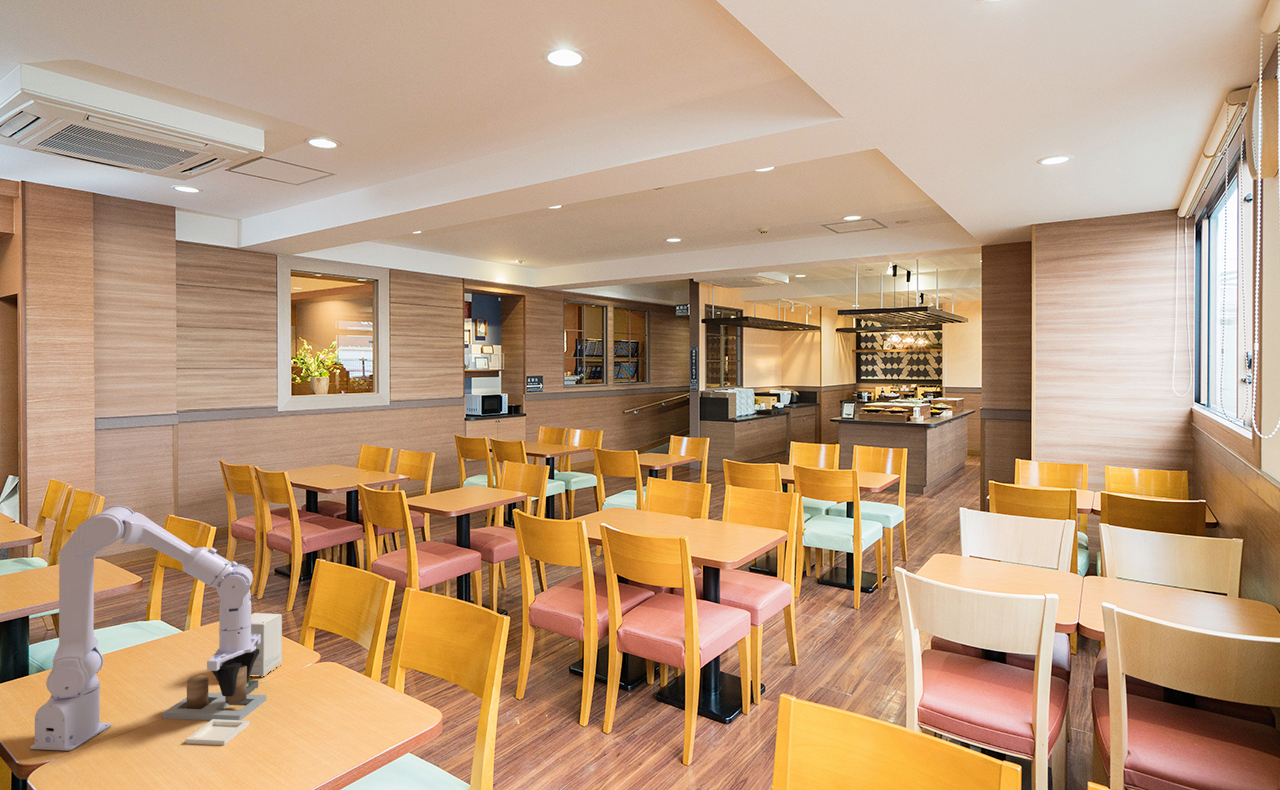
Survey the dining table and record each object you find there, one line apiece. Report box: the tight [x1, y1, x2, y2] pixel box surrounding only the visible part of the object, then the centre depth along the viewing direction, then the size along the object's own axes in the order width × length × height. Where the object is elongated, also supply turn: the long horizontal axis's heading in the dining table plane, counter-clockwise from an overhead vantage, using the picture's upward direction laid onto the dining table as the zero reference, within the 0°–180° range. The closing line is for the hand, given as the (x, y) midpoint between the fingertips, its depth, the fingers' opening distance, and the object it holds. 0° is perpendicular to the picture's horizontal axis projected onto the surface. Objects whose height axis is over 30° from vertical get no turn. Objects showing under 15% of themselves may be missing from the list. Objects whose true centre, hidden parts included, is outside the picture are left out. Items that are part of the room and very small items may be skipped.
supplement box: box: [250, 612, 283, 676], centre depth 160 cm, size 7×7×13 cm
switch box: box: [247, 679, 259, 694], centre depth 149 cm, size 5×5×2 cm
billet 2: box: [225, 665, 247, 705], centre depth 141 cm, size 4×4×6 cm
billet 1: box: [186, 674, 209, 709], centre depth 141 cm, size 4×4×6 cm
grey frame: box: [162, 692, 267, 721], centre depth 141 cm, size 9×16×2 cm, turn 88°
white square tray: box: [184, 719, 251, 746], centre depth 131 cm, size 8×8×1 cm
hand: (235, 690), depth 141 cm, fingers closed on billet 2, 4 cm apart
